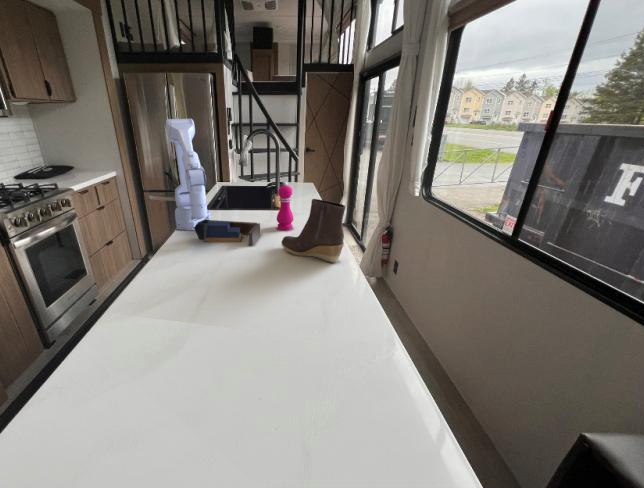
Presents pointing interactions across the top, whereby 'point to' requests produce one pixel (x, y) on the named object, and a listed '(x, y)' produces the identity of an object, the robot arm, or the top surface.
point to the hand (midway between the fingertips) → (202, 239)
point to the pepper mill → (285, 208)
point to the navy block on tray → (247, 230)
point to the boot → (320, 232)
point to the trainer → (222, 232)
